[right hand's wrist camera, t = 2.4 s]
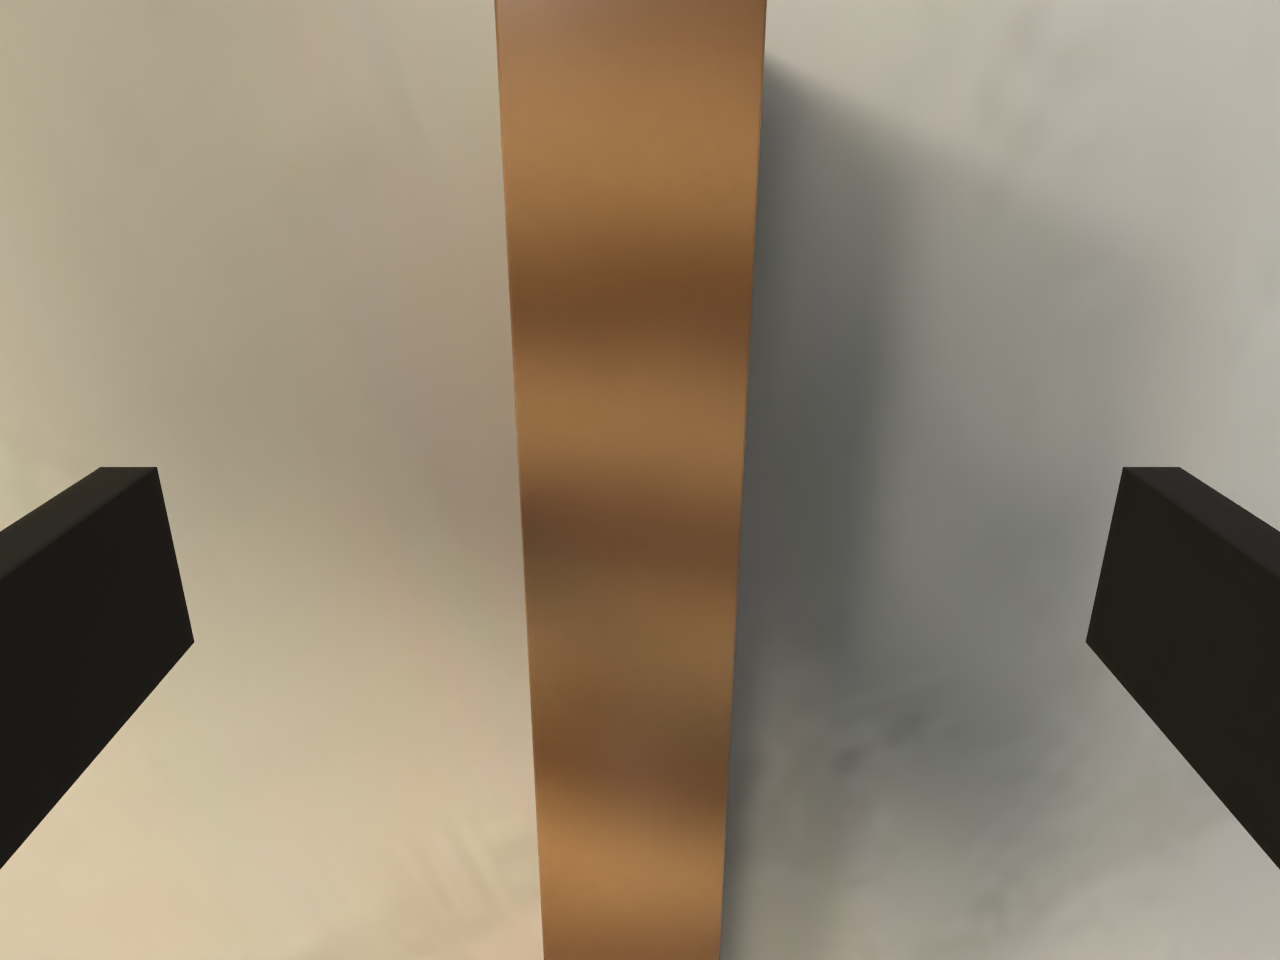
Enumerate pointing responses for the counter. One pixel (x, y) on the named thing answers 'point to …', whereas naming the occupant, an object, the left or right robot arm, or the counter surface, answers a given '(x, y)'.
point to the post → (631, 445)
